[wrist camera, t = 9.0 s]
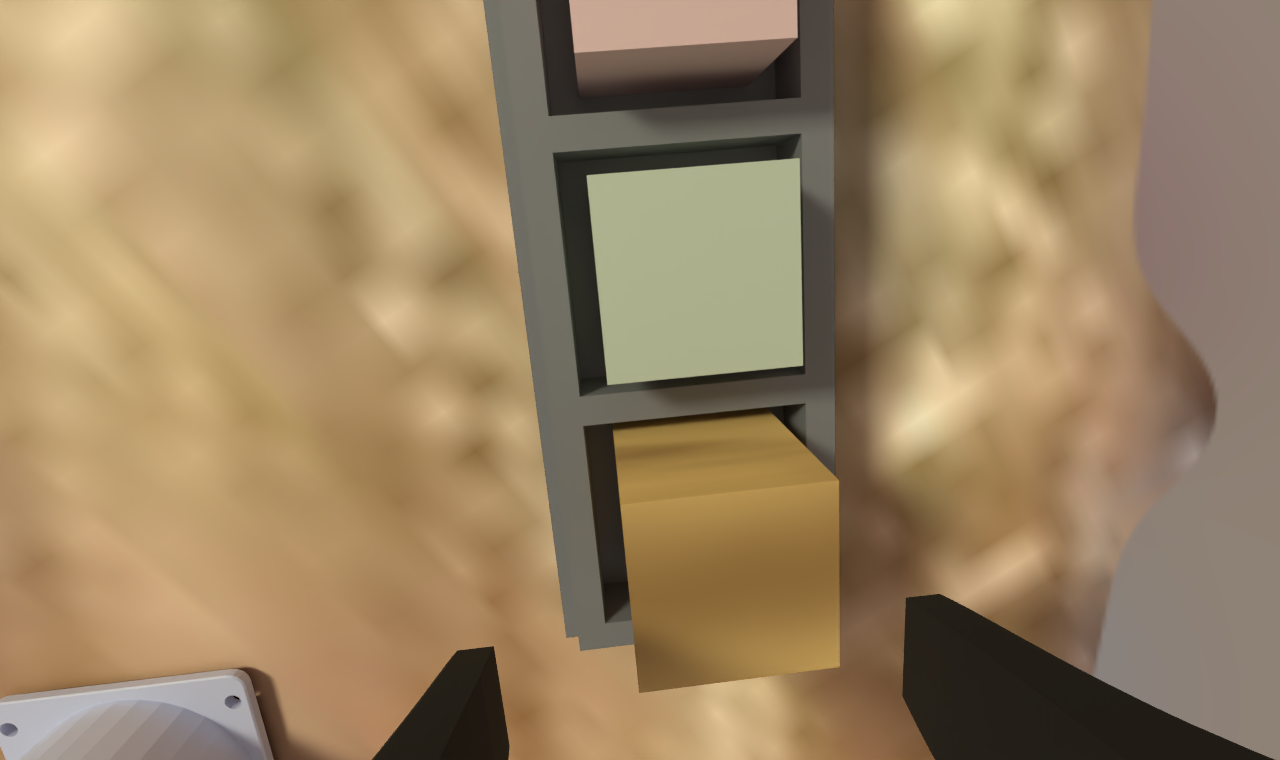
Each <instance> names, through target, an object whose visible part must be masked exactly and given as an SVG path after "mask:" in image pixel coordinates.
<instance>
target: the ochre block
mask: <svg viewBox="0 0 1280 760" xmlns="http://www.w3.org/2000/svg"><path fill="white" fill-rule="evenodd" d="M612 426H613V436H614V446H615V456H616V466H617V477H618V487H619V497H620V507H621V517H622V527H623V537H624V547H625V557H626V566H627V576H628V586H629V596H630V606H631V616H632V626H633V635H634V645H635V655H636V665H637V675H638V685H639V693H642V692H650V691H658V690H665V689H673V688H681V687H689V686H696V685H704V684H712V683H720V682H727V681H735V680H743V679H751V678H758V677H766V676H774V675H782V674H789V673H797V672H805V671H813V670H820V669H828V668H836V667H840V593H839V480H838V479H837V478H836V477H835V476H834V475H833V474H832V473H831V472H830V471H829V470H828V469H827V468H826V467H825V466H824V465H823V464H822V463H821V462H820V461H819V460H818V459H817V458H816V457H815V456H814V455H813V454H812V453H811V452H810V451H809V450H808V449H807V448H806V447H805V446H804V445H803V444H802V443H801V442H800V441H799V440H798V439H797V438H796V437H795V436H794V435H793V434H792V433H791V432H790V431H789V430H788V429H787V428H786V427H785V426H784V425H783V424H782V423H781V422H780V421H779V420H778V419H777V418H776V417H775V416H774V415H773V414H772V413H771V412H770V411H769V410H768V409H767V408H766V407H764V408H754V409H745V410H735V411H725V412H715V413H706V414H696V415H686V416H676V417H667V418H657V419H647V420H637V421H628V422H618V423H612Z"/></svg>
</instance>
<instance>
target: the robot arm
mask: <svg viewBox="0 0 1280 760" xmlns="http://www.w3.org/2000/svg"><path fill="white" fill-rule="evenodd" d="M233 696H237V697H239V698H240V700H238V699H236V698H234V697H233ZM903 698H904V700H905V702H906V704H907V706H908V708H909V710H910V712H911V714H912V716H913V718H914V720H915V722H916V724H917V726H918V728H919V730H920V732H921V734H922V736H923V738H924V740H925V742H926V744H927V745H928V747H929V749H930V751H931V753H932V755H933V757H934V758H935V760H1274V759H1272V758H1269V757H1267V756H1264V755H1262V754H1259V753H1257V752H1254V751H1252V750H1250V749H1247V748H1245V747H1243V746H1240V745H1238V744H1236V743H1234V742H1231V741H1229V740H1227V739H1224V738H1222V737H1220V736H1217V735H1215V734H1213V733H1210V732H1208V731H1206V730H1204V729H1201V728H1199V727H1197V726H1194V725H1192V724H1190V723H1187V722H1185V721H1183V720H1181V719H1179V718H1177V717H1174V716H1172V715H1170V714H1168V713H1166V712H1164V711H1162V710H1160V709H1157V708H1155V707H1153V706H1151V705H1149V704H1147V703H1145V702H1143V701H1141V700H1139V699H1137V698H1135V697H1133V696H1131V695H1129V694H1127V693H1125V692H1123V691H1121V690H1119V689H1117V688H1115V687H1113V686H1111V685H1108V684H1107V683H1105V682H1103V681H1101V680H1099V679H1097V678H1095V677H1093V676H1091V675H1089V674H1087V673H1086V672H1084V671H1082V670H1080V669H1078V668H1076V667H1074V666H1072V665H1070V664H1068V663H1067V662H1065V661H1063V660H1061V659H1059V658H1057V657H1055V656H1054V655H1052V654H1050V653H1048V652H1046V651H1044V650H1043V649H1041V648H1039V647H1037V646H1035V645H1033V644H1032V643H1030V642H1028V641H1026V640H1024V639H1023V638H1021V637H1019V636H1017V635H1015V634H1014V633H1012V632H1010V631H1008V630H1006V629H1005V628H1003V627H1001V626H999V625H997V624H996V623H994V622H992V621H990V620H988V619H987V618H985V617H983V616H981V615H979V614H978V613H976V612H974V611H972V610H970V609H968V608H966V607H965V606H963V605H961V604H959V603H957V602H955V601H953V600H951V599H949V598H947V597H945V596H943V595H941V594H935V595H926V596H918V597H909V598H906V611H905V640H904V668H903ZM0 747H1V749H2V751H3V754H4V756H5V758H6V760H274V759H273V755H272V752H271V748H270V745H269V741H268V738H267V734H266V731H265V727H264V724H263V720H262V717H261V713H260V710H259V706H258V703H257V699H256V696H255V692H254V689H253V685H252V682H251V679H250V677H249V675H248V674H247V673H245V672H244V671H242V670H239V669H226V670H218V671H210V672H201V673H193V674H185V675H177V676H168V677H160V678H152V679H143V680H135V681H127V682H119V683H110V684H102V685H94V686H85V687H77V688H69V689H60V690H52V691H44V692H36V693H27V694H19V695H11V696H6V697H3V698H2V699H0ZM508 757H509V740H508V734H507V727H506V721H505V715H504V708H503V702H502V696H501V689H500V683H499V677H498V670H497V664H496V658H495V651H494V646H493V647H485V648H476V649H468V650H459V651H457V652H456V653H455V654H454V655H453V656H452V658H451V659H450V660H449V661H448V663H447V664H446V665H445V667H444V668H443V669H442V671H441V672H440V673H439V675H438V676H437V677H436V679H435V680H434V681H433V683H432V684H431V685H430V687H429V688H428V689H427V691H426V692H425V693H424V695H423V696H422V697H421V699H420V700H419V701H418V702H417V704H416V705H415V706H414V708H413V709H412V710H411V712H410V713H409V714H408V715H407V717H406V718H405V719H404V721H403V722H402V723H401V724H400V726H399V727H398V728H397V729H396V731H395V732H394V733H393V734H392V736H391V737H390V738H389V739H388V741H387V742H386V743H385V744H384V746H383V747H382V748H381V749H380V751H379V752H378V753H377V754H376V755H375V757H374V758H373V759H372V760H508Z"/></svg>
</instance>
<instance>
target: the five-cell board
mask: <svg viewBox="0 0 1280 760" xmlns="http://www.w3.org/2000/svg"><path fill="white" fill-rule="evenodd" d="M483 2H484V9H485V17H486V25H487V32H488V40H489V48H490V55H491V63H492V71H493V78H494V86H495V94H496V101H497V109H498V117H499V124H500V132H501V139H502V147H503V155H504V162H505V170H506V178H507V185H508V193H509V201H510V208H511V216H512V224H513V231H514V239H515V247H516V254H517V262H518V270H519V277H520V285H521V292H522V300H523V308H524V315H525V323H526V331H527V338H528V346H529V354H530V361H531V369H532V377H533V384H534V392H535V400H536V407H537V415H538V423H539V430H540V438H541V445H542V453H543V461H544V468H545V476H546V484H547V491H548V499H549V507H550V514H551V522H552V530H553V537H554V545H555V553H556V560H557V568H558V576H559V583H560V591H561V598H562V606H563V614H564V621H565V629H566V637H567V638H568V637H576V636H579V644H580V651H582V650H590V649H599V648H607V647H615V646H623V645H631V644H634V635H633V626H632V616H631V606H630V596H629V586H628V576H627V566H626V557H625V547H624V537H623V527H622V517H621V507H620V497H619V487H618V477H617V466H616V456H615V446H614V436H613V426H612V423H618V422H628V421H637V420H647V419H657V418H667V417H676V416H686V415H696V414H706V413H715V412H725V411H735V410H745V409H754V408H764V407H766V408H767V409H768V410H769V411H770V412H771V413H772V414H773V415H774V416H775V417H776V418H777V419H778V420H779V421H780V422H781V423H782V424H783V425H784V426H785V427H786V428H787V429H788V430H789V431H790V432H791V433H792V434H793V435H794V436H795V437H796V438H797V439H798V440H799V441H800V442H801V443H802V444H803V445H804V446H805V447H806V448H807V449H808V450H809V451H810V452H811V453H812V454H813V455H814V456H815V457H816V458H817V459H818V460H819V461H820V462H821V463H822V464H823V465H824V466H825V467H826V468H827V469H828V470H829V471H830V472H831V473H832V474H833V475H834V476H835V264H834V0H483Z"/></svg>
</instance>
